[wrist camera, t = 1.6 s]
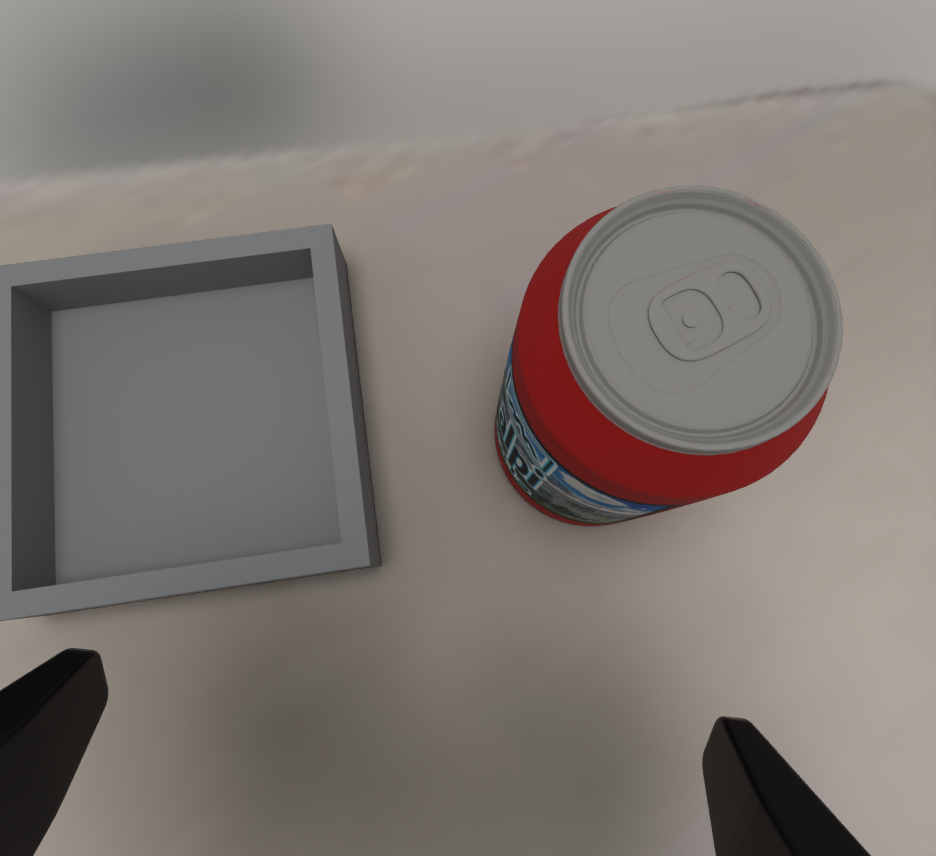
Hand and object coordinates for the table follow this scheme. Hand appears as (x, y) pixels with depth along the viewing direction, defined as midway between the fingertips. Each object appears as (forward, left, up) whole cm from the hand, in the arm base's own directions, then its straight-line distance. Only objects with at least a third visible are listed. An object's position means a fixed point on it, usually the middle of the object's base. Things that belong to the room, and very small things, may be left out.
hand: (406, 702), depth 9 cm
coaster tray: (+11, 0, -13) cm, 17 cm away
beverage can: (0, -9, -14) cm, 16 cm away
